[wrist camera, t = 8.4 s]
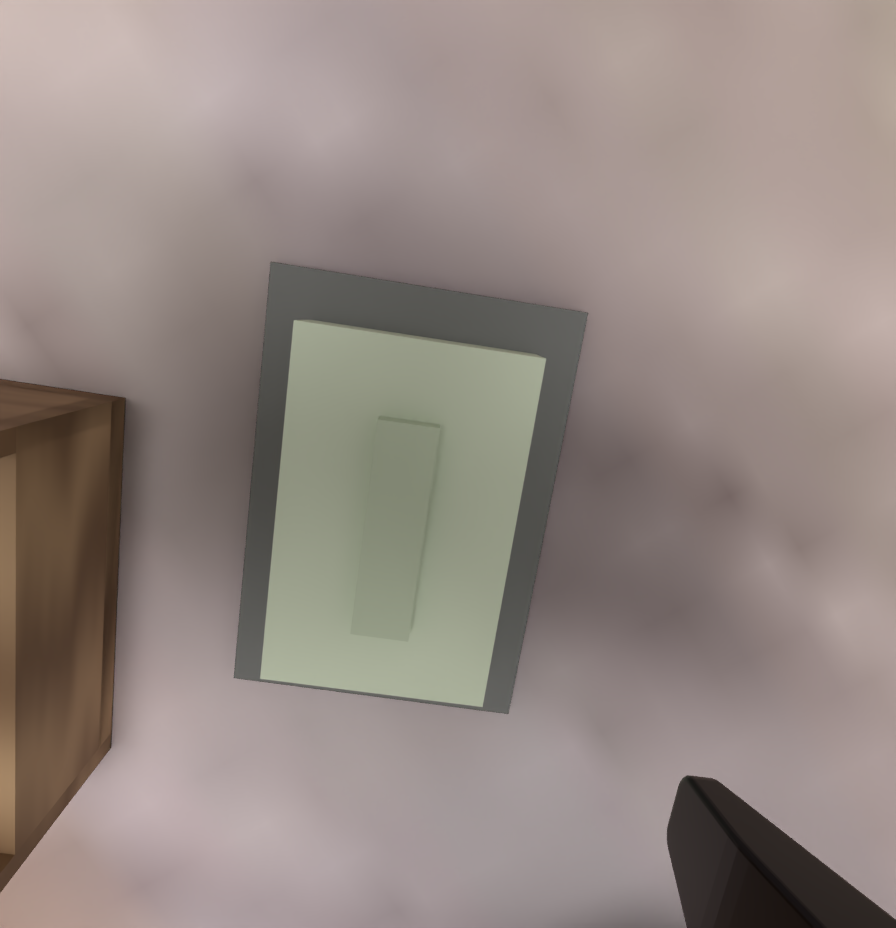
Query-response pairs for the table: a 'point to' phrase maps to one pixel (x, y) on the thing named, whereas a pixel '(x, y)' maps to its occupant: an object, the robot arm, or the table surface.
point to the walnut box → (55, 601)
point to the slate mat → (430, 317)
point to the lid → (396, 510)
